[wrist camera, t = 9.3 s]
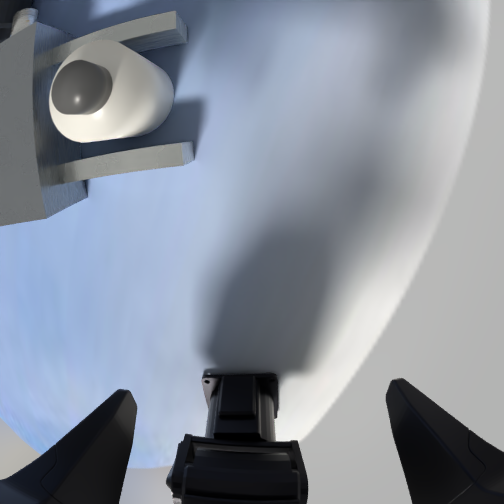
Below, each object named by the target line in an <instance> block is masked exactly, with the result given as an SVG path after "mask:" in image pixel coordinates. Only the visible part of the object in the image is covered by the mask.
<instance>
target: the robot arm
mask: <svg viewBox="0 0 504 504" xmlns="http://www.w3.org/2000/svg"><path fill="white" fill-rule="evenodd" d="M208 380H209V381H208ZM202 386H203V390H204V394H205V398H206V402H207V405H208V409H209V411H208V419H207V426H206V434H205V437H199V436H192V434H185V436H184V440H183V441H181V443H179V444H178V449H177V455H176V459H175V462H174V464H173V466H172V468H171V470H170V472H169V474H168V477H167V480H166V484H167V486H168V487H169V488H170V489H171V491H172V496H173V502H174V504H307V499H308V479H307V474H306V470H305V466H304V462H303V459H302V455H301V451H300V448H299V444H298V441H297V440H290V441H285V442H279V441H276V439H275V422H274V419H276V418H277V406H278V379H277V375H276V374H272V373H271V374H244V375H204V376H203V377H202ZM386 403H387V408H388V413H389V418H390V423H391V429H392V433H393V438H394V441H395V444H396V448H397V451H398V454H399V457H400V461H401V464H402V467H403V471H404V474H405V478H406V482H407V485H408V489H409V492H410V496H411V500H412V504H504V452H502V451H501V450H499V449H497V448H496V447H494V446H492V445H491V444H489V443H488V442H486V441H485V440H483V439H482V438H480V437H479V436H477V435H476V434H475V433H474V432H472V431H471V430H469V429H468V428H467V427H466V426H464V425H463V424H462V423H461V422H459V421H458V420H456V419H455V418H454V417H453V416H451V415H450V414H449V413H447V412H446V411H445V410H444V409H442V408H441V407H440V406H438V405H437V404H436V403H435V402H433V401H432V400H431V399H429V398H428V397H427V396H426V395H424V394H423V393H422V392H420V391H419V390H418V389H416V388H415V387H414V386H412V385H411V384H410V383H409V382H407V381H406V380H405V379H403V378H398V379H394V380H392V381H391V382H390V385H389V388H388V390H387V393H386ZM136 415H137V404H136V402H135V400H134V398H133V396H132V394H131V392H130V391H129V390H124V389H118V390H117V391H116V392H114V393H113V394H112V395H111V396H110V397H109V398H108V399H106V400H105V401H104V402H103V403H102V404H101V405H100V406H98V407H97V408H96V409H95V410H94V411H93V412H92V413H90V414H89V415H88V416H87V417H86V418H85V419H84V420H82V421H81V422H80V423H79V424H78V425H77V426H75V427H74V428H73V429H72V430H71V431H70V432H69V433H67V434H66V435H65V436H64V437H63V438H62V439H60V440H59V441H58V442H57V443H56V445H53V446H52V447H51V448H50V449H49V450H47V451H46V452H45V453H44V454H42V455H41V456H40V457H39V458H37V459H36V460H34V461H33V462H32V463H30V464H29V465H27V466H26V467H24V468H23V469H21V470H19V471H18V472H16V473H15V474H13V475H12V476H10V477H8V478H6V479H2V480H0V504H119V500H120V496H121V491H122V487H123V482H124V478H125V474H126V469H127V465H128V461H129V457H130V453H131V449H132V444H133V437H134V429H135V422H136Z"/></svg>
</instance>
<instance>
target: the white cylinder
mask: <svg viewBox="0 0 504 504" xmlns="http://www.w3.org/2000/svg"><path fill="white" fill-rule="evenodd" d="M173 100H174V88H173V84H172V81H171V79H170V77H169V76H168V74H167V73H166V72H165V71H164V70H163V69H162V68H160V67H159V66H157V65H155V64H154V63H152V62H151V61H149V60H147V59H146V58H144V57H143V56H141V55H139V54H138V53H136V52H134V51H133V50H131V49H129V48H128V47H126V46H124V45H122V44H121V43H119V42H116V41H113V40H96V41H92V42H89V43H87V44H84V45H83V46H81V47H79V48H78V49H76V50H75V51H74V52H72V53H71V54H70V55H69V56H68V57H67V58H66V59H65V61H64V62H63V63H62V65H61V66H60V67H59V69H58V71H57V73H56V75H55V77H54V79H53V82H52V85H51V90H50V96H49V107H50V113H51V117H52V120H53V122H54V124H55V126H56V127H57V129H58V130H59V131H60V132H61V133H62V134H63V135H64V136H65V137H67V138H69V139H71V140H73V141H76V142H94V141H101V140H109V139H118V138H128V137H138V136H143V135H146V134H148V133H150V132H152V131H154V130H155V129H157V128H158V127H159V126H160V125H161V124H162V123H163V122H164V121H165V119H166V118H167V116H168V115H169V113H170V111H171V108H172V105H173Z"/></svg>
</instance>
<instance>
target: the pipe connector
mask: <svg viewBox="0 0 504 504" xmlns="http://www.w3.org/2000/svg"><path fill="white" fill-rule="evenodd" d="M32 1H33V0H0V43H2V42H3V41H5V40H6V39H8V38H9V37H10V36H11V29H12V22H13V16H14V15H15V13H17V12H18V11H20V10H23V9H27V8H31V4H32Z"/></svg>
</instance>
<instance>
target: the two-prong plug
mask: <svg viewBox="0 0 504 504" xmlns="http://www.w3.org/2000/svg"><path fill="white" fill-rule="evenodd" d="M37 17H38V10H37V9H34V8H27V9H23V10H20V11H18V12H17V13H15V15H14V16H13V22H12V29H11V36H10V37H9V38H8V39H6V40H5V41H3V42H2V43H0V226H4V225H10V224H16V223H22V222H28V221H34V220H40V219H47V218H48V217H50V216H52V215H54V214H56V213H58V212H60V211H62V210H63V209H65V208H67V207H69V206H71V205H73V204H75V203H77V202H79V201H81V200H83V199H85V198H87V192H86V186H85V179H91V178H97V177H103V176H109V175H115V174H121V173H128V172H135V171H142V170H150V169H158V168H166V167H175V166H184V165H186V164H188V163H190V162H192V161H194V150H193V141H189V142H180V143H172V144H164V145H157V146H150V147H143V148H137V149H131V150H125V151H119V152H114V153H109V154H103V155H98V156H94V157H89V158H84V159H82V156H81V147H80V142H76V141H73V140H71V139H69V138H67V137H65V136H64V135H63V134H62V133H61V132H60V131H59V130H58V129H57V127H56V126H55V124H54V122H53V120H52V117H51V113H50V107H49V96H50V90H51V85H52V82H53V79H54V77H55V75H56V73H57V71H58V69H59V67H60V66H61V65H62V63H63V62H64V61H65V59H66V58H67V57H68V56H69V55H70V54H71V53H72V52H74V51H75V50H76V49H78V48H79V47H81V46H83V45H84V44H87V43H89V42H92V41H96V40H113V41H116V42H119V43H121V44H122V45H124V46H126V47H128V48H129V49H131V50H133V51H134V52H136V53H139V52H143V51H147V50H152V49H157V48H162V47H167V46H173V45H179V44H185V43H188V42H187V26H186V25H185V23H184V22H183V20H182V19H181V17H180V16H179V14H178V13H177V12H176V11H171V12H166V13H161V14H156V15H152V16H148V17H143V18H139V19H135V20H132V21H128V22H124V23H121V24H118V25H114V26H111V27H108V28H105V29H102V30H99V31H96V32H93V33H90V34H87V35H85V36H82V37H79V38H78V37H76V36H73V35H71V34H69V33H66V32H64V31H61V30H58V29H56V28H53V27H51V26H48V25H45V24H42V23H40V22H37Z"/></svg>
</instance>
